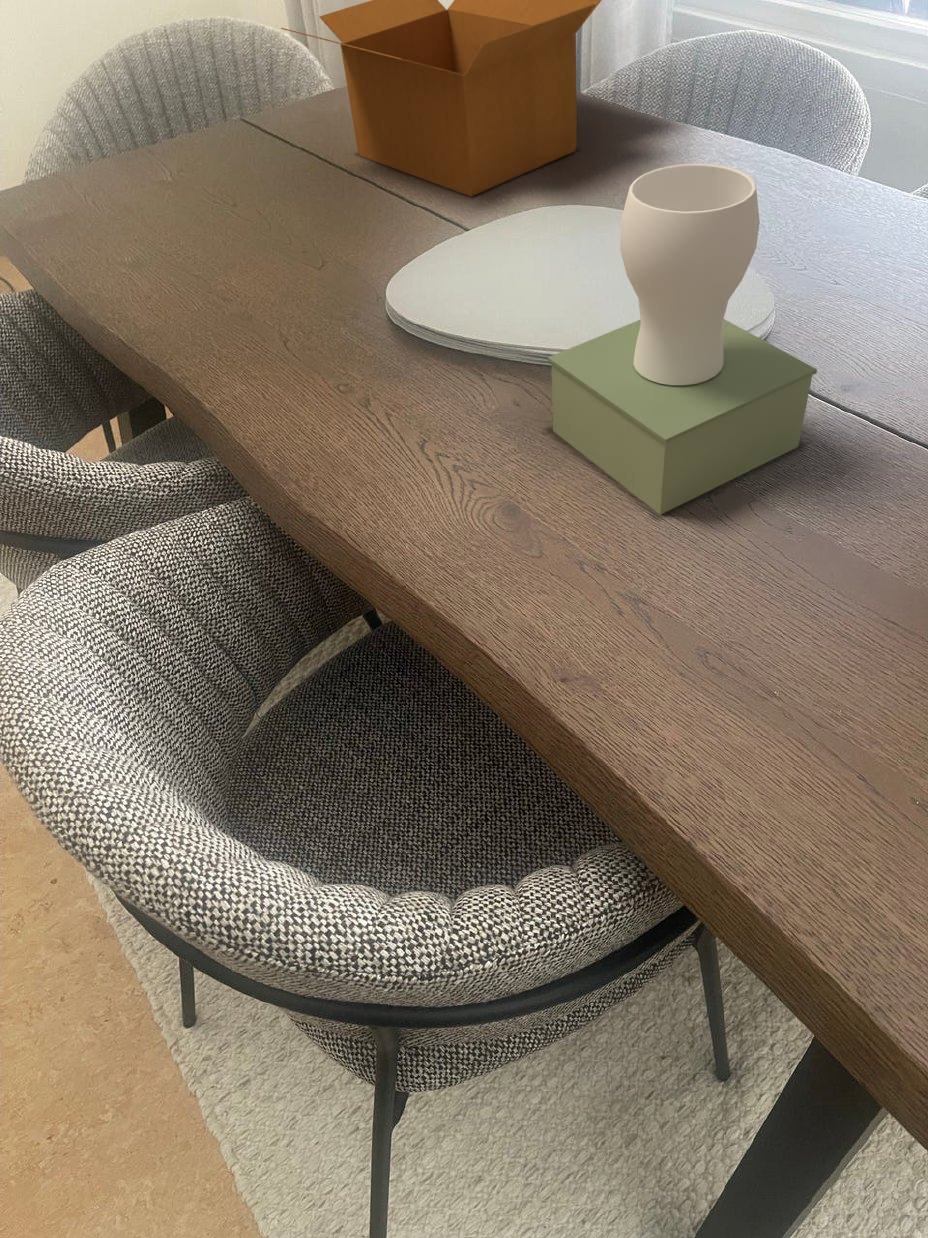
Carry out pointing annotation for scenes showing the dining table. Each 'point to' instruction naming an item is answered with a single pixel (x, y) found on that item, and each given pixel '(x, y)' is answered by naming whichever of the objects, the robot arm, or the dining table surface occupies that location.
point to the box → (462, 85)
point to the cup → (686, 264)
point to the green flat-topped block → (678, 414)
